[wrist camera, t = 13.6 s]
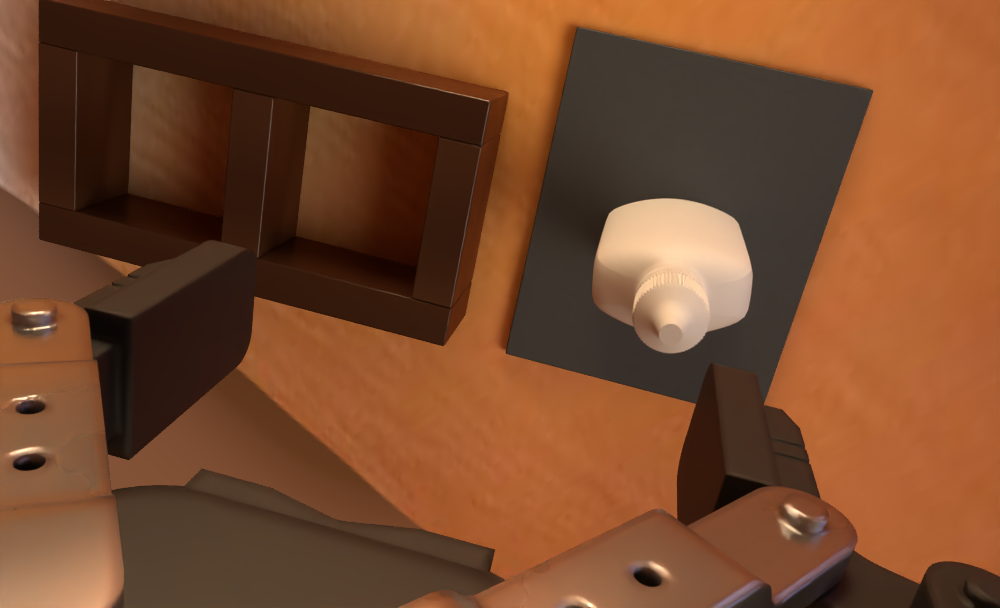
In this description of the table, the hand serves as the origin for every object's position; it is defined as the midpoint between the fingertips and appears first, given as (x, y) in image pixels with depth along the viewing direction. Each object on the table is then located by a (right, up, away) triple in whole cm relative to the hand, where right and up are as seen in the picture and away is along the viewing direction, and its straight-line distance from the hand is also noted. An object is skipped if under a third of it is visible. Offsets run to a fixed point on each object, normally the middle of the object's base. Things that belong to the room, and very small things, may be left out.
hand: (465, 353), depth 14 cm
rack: (-9, +8, +25) cm, 27 cm away
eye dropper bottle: (+8, +4, +22) cm, 24 cm away
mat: (+8, +4, +22) cm, 24 cm away
